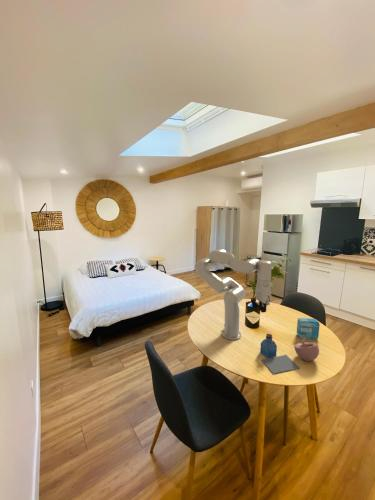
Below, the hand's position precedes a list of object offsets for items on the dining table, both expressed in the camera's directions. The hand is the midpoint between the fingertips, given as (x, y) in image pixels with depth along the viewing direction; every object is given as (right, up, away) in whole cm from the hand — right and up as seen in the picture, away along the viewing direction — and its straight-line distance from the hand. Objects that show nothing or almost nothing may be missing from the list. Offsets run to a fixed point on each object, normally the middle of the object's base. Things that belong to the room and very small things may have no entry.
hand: (262, 311), depth 134 cm
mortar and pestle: (+22, -25, -8) cm, 34 cm away
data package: (+34, -21, +14) cm, 42 cm away
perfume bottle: (+2, -24, -3) cm, 25 cm away
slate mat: (+6, -26, -12) cm, 29 cm away
